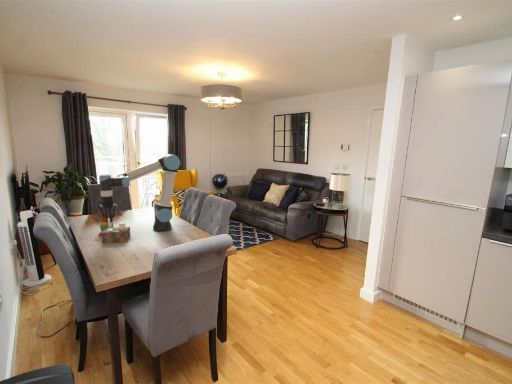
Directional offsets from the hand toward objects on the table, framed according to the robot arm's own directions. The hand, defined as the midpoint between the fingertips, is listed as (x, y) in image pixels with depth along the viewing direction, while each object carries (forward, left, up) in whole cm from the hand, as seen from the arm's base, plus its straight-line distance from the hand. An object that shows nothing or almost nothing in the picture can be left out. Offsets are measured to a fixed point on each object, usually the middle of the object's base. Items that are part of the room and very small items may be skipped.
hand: (110, 226), depth 197 cm
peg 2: (-9, 0, -5) cm, 10 cm away
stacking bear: (+8, -15, -11) cm, 20 cm away
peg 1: (0, 0, -10) cm, 10 cm away
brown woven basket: (-4, 0, -10) cm, 11 cm away
